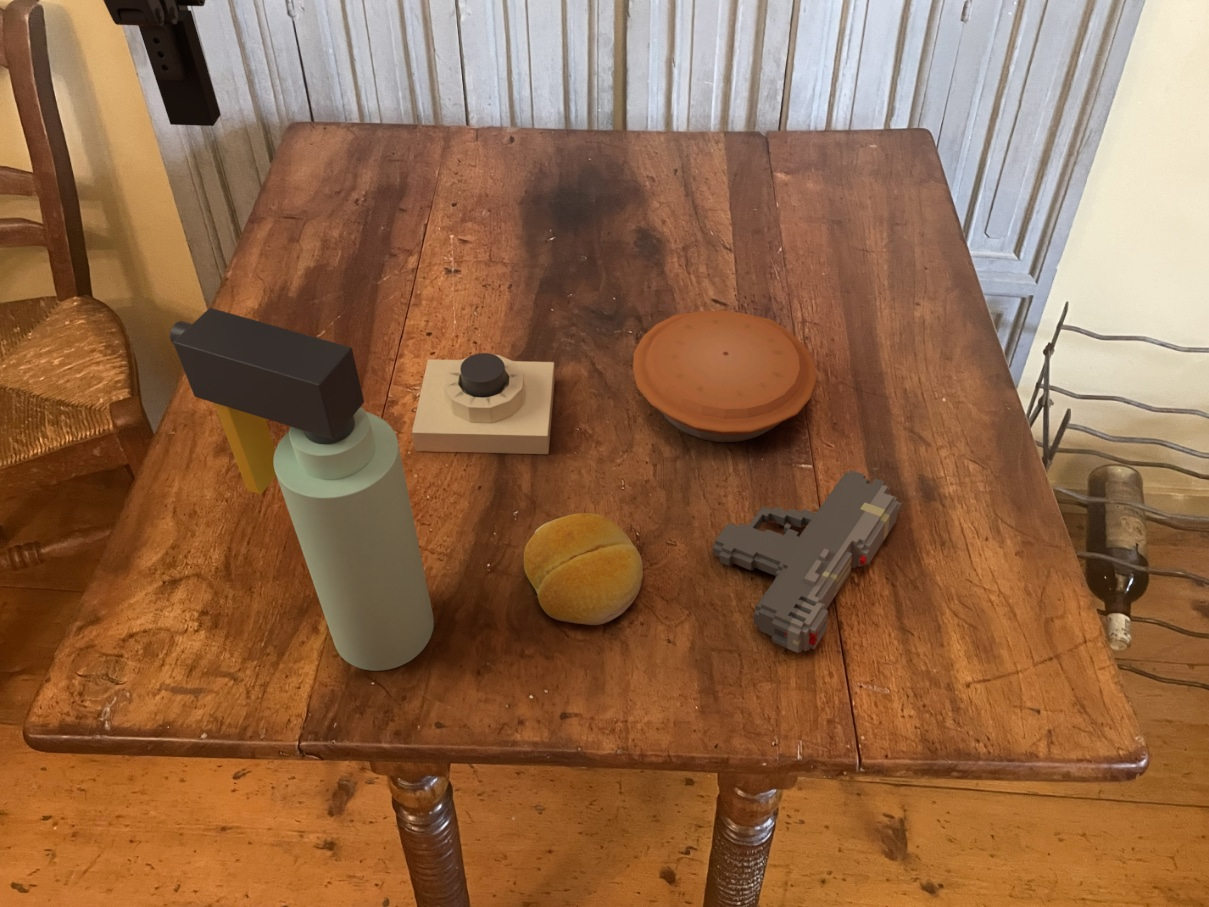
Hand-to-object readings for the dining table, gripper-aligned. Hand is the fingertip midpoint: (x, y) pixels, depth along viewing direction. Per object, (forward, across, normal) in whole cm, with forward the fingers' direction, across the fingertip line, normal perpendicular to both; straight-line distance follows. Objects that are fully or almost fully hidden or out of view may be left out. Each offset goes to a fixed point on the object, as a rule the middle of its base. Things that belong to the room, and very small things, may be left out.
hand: (195, 119), depth 62 cm
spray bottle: (+28, -18, -9) cm, 34 cm away
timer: (+28, +3, -16) cm, 32 cm away
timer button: (+24, +3, -16) cm, 29 cm away
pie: (+28, +6, -36) cm, 46 cm away
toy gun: (+28, -11, -41) cm, 51 cm away
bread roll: (+28, -14, -25) cm, 40 cm away
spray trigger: (+15, -17, -5) cm, 23 cm away
